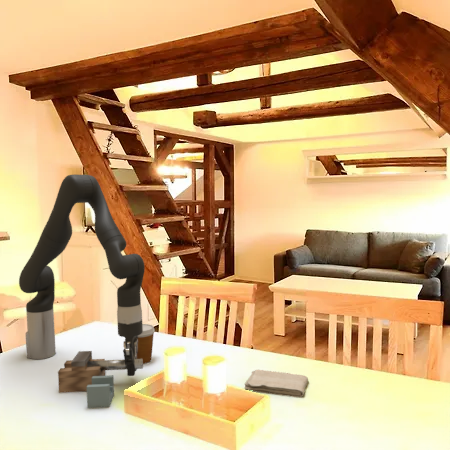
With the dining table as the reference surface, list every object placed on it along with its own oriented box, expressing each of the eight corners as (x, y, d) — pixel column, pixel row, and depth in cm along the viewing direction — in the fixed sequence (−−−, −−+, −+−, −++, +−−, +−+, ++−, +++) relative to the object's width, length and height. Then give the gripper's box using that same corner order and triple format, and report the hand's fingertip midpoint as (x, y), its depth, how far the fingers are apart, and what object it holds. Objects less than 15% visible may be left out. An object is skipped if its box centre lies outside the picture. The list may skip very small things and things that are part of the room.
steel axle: (82, 373, 137) (82, 364, 136) (85, 368, 140) (84, 359, 139) (141, 370, 138) (141, 361, 137) (143, 365, 141) (142, 356, 140)
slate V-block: (87, 408, 124) (86, 387, 123) (93, 395, 131) (92, 376, 131) (109, 407, 124) (108, 386, 124) (114, 394, 132) (113, 375, 131)
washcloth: (253, 376, 144) (252, 366, 144) (309, 382, 138) (309, 372, 138) (243, 392, 133) (242, 382, 132) (303, 399, 127) (303, 389, 127)
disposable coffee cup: (160, 361, 157) (159, 328, 156) (134, 368, 152) (133, 333, 151) (148, 353, 165) (147, 321, 164) (124, 359, 159) (123, 326, 158)
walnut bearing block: (59, 392, 134) (57, 362, 133) (67, 380, 143) (66, 352, 142) (99, 390, 135) (98, 360, 134) (105, 378, 143) (104, 350, 143)
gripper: (121, 313, 145) (123, 365, 146) (113, 326, 131) (115, 383, 132) (144, 312, 145) (147, 364, 146) (139, 325, 131) (141, 382, 132)
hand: (132, 372), depth 139 cm, fingers closed on steel axle, 3 cm apart
